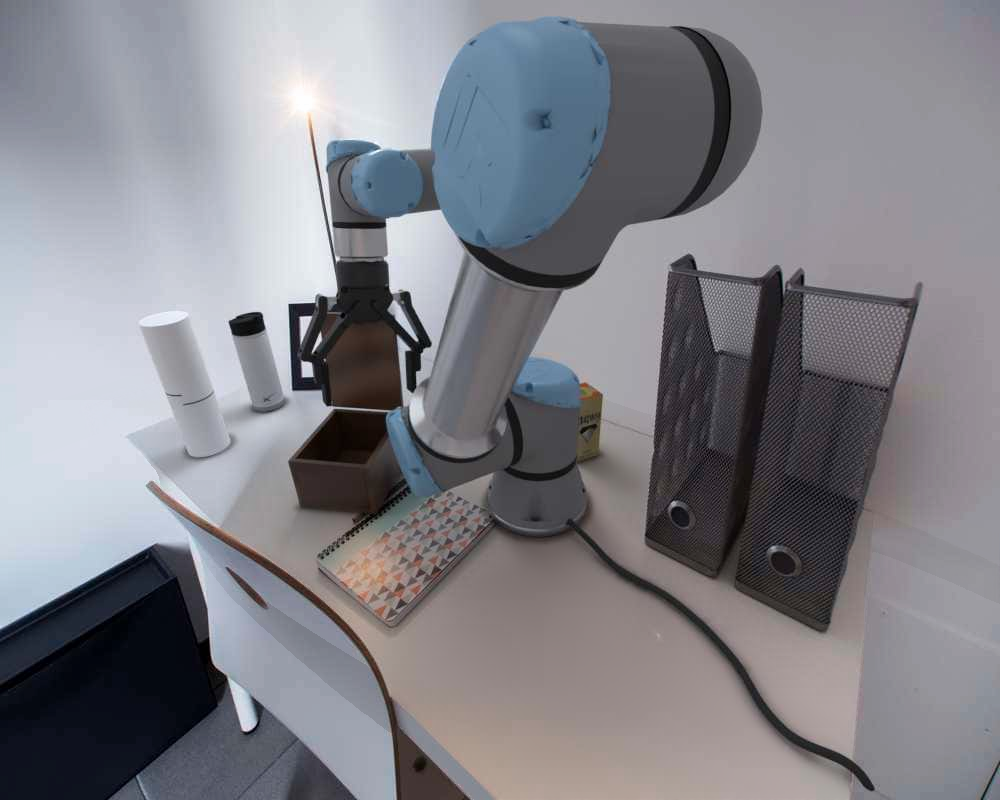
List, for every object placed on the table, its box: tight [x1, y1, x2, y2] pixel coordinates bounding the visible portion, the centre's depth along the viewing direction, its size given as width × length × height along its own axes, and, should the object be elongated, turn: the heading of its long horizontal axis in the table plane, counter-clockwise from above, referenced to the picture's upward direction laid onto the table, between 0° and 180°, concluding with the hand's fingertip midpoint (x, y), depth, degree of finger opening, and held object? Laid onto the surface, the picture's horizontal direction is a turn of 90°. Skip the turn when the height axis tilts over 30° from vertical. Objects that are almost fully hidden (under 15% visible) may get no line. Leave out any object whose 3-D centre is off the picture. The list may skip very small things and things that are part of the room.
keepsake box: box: [287, 408, 402, 516], centre depth 86 cm, size 16×13×9 cm
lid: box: [320, 311, 405, 412], centre depth 87 cm, size 16×13×1 cm
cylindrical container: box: [138, 310, 231, 458], centre depth 92 cm, size 7×7×25 cm
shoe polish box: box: [577, 382, 604, 463], centre depth 90 cm, size 5×5×12 cm
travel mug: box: [228, 311, 286, 413], centre depth 106 cm, size 6×7×20 cm
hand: (371, 397), depth 84 cm, fingers open, 13 cm apart
